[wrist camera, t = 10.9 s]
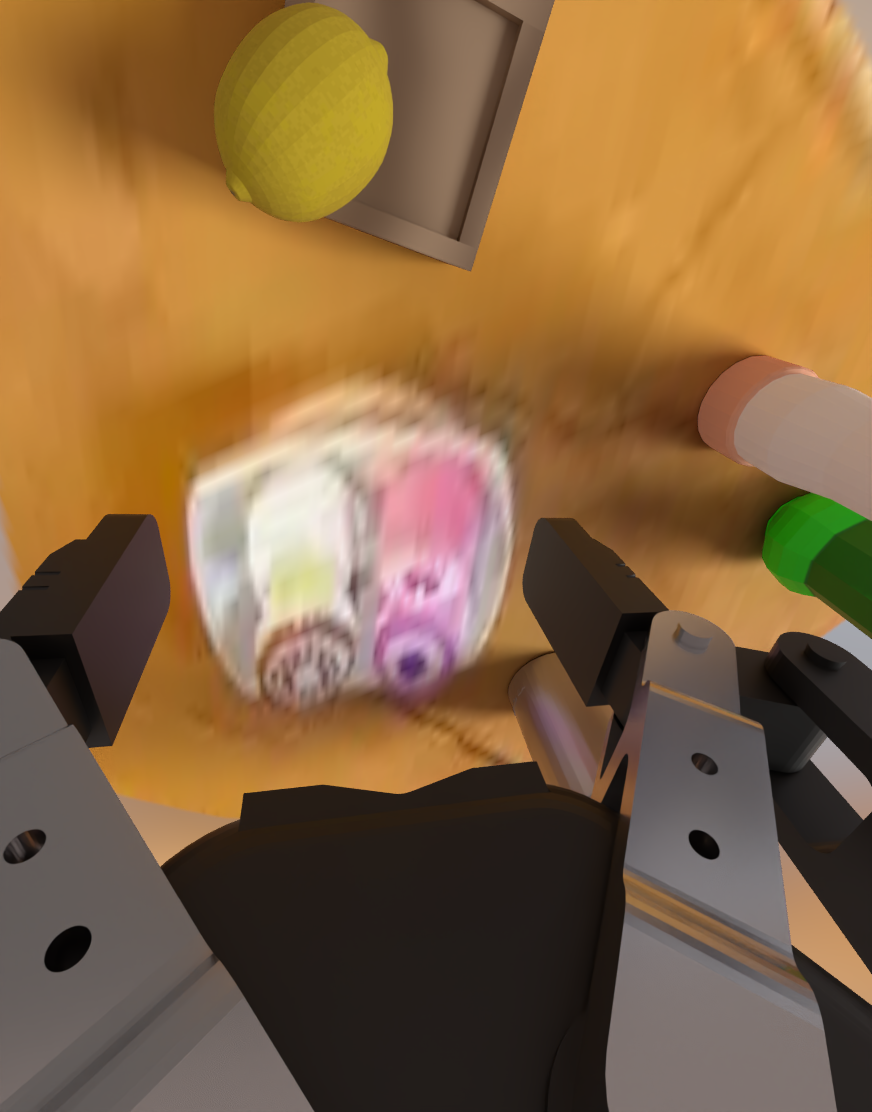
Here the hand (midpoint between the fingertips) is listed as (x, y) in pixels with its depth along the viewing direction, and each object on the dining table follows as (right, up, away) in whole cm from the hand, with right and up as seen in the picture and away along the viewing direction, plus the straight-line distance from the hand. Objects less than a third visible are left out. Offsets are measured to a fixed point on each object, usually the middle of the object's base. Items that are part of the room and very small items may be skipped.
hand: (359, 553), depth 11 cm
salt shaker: (+25, +12, +27) cm, 39 cm away
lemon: (0, +19, +8) cm, 21 cm away
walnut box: (-1, +22, +15) cm, 27 cm away
